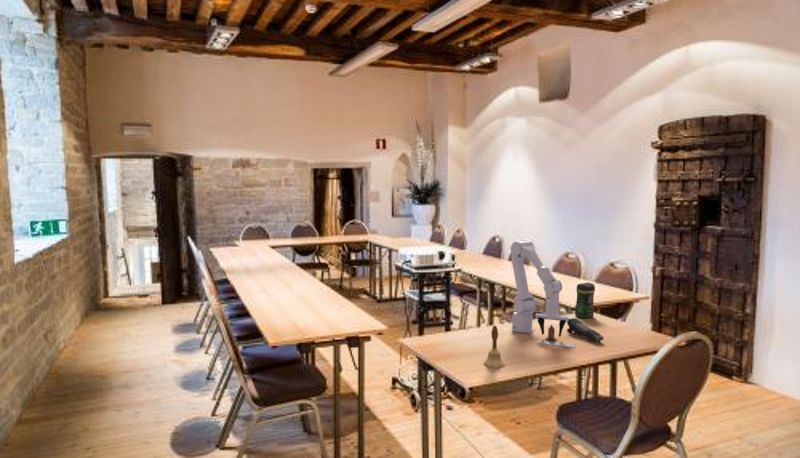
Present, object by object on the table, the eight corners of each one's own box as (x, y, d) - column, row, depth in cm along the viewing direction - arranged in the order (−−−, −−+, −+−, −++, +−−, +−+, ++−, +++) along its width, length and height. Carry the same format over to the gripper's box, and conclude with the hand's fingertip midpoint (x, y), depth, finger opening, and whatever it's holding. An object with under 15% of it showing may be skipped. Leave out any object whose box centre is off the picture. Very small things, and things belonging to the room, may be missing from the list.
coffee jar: (585, 319, 279) (586, 285, 277) (572, 316, 285) (574, 282, 284) (596, 317, 284) (597, 283, 283) (583, 313, 291) (585, 280, 289)
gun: (571, 329, 260) (576, 312, 256) (598, 354, 243) (604, 337, 239) (563, 330, 258) (569, 313, 254) (590, 356, 241) (597, 338, 237)
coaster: (544, 340, 243) (544, 339, 243) (546, 337, 248) (546, 336, 248) (555, 342, 241) (555, 341, 241) (557, 338, 246) (557, 338, 246)
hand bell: (507, 367, 208) (508, 328, 207) (486, 368, 208) (487, 328, 206) (501, 360, 216) (502, 322, 215) (481, 361, 216) (482, 323, 214)
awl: (547, 339, 244) (548, 325, 243) (548, 337, 246) (549, 323, 246) (553, 340, 243) (554, 325, 242) (554, 338, 245) (555, 324, 244)
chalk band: (537, 343, 239) (537, 342, 239) (538, 340, 243) (538, 340, 243) (573, 348, 233) (573, 347, 233) (574, 345, 236) (574, 345, 236)
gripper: (534, 306, 242) (533, 335, 244) (567, 309, 236) (566, 339, 238) (537, 303, 249) (536, 331, 250) (569, 306, 243) (568, 335, 244)
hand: (551, 335), depth 244 cm, fingers open, 7 cm apart
